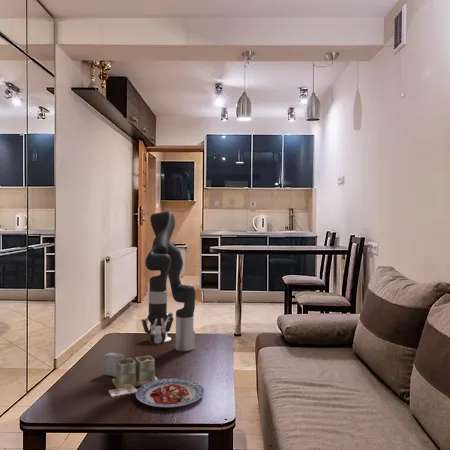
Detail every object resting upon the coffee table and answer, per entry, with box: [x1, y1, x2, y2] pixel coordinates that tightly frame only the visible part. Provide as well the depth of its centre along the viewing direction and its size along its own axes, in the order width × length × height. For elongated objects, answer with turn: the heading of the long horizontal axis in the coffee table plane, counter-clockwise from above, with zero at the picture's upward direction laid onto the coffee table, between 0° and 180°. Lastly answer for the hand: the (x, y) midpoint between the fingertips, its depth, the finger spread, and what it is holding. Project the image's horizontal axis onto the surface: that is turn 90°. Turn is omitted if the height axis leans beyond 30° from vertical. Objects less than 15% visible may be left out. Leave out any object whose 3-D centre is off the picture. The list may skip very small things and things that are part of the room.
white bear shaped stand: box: [153, 312, 174, 343], centre depth 235 cm, size 12×11×15 cm
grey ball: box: [153, 334, 162, 345], centre depth 175 cm, size 4×4×4 cm
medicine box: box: [103, 352, 125, 378], centre depth 180 cm, size 8×4×9 cm, turn 65°
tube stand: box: [111, 355, 159, 389], centre depth 173 cm, size 17×9×9 cm, turn 117°
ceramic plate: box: [135, 378, 205, 408], centre depth 158 cm, size 26×26×3 cm
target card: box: [108, 386, 138, 398], centre depth 162 cm, size 10×6×1 cm, turn 117°
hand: (157, 342), depth 175 cm, fingers closed on grey ball, 4 cm apart
